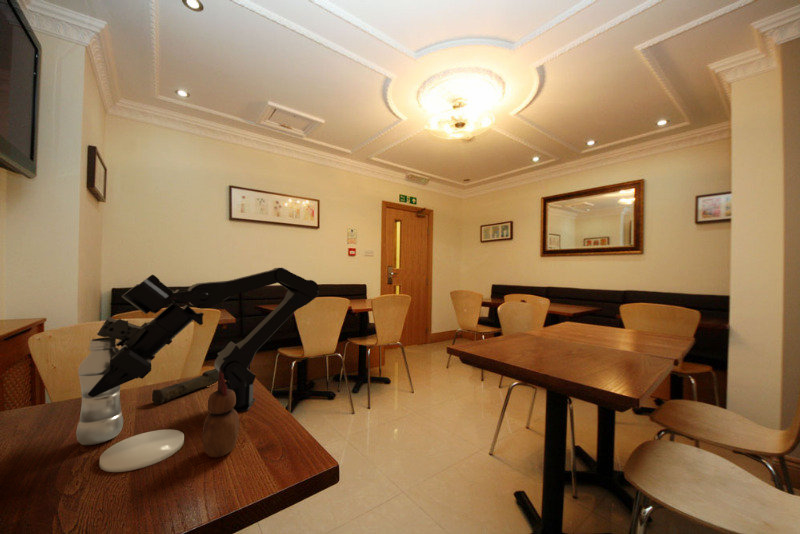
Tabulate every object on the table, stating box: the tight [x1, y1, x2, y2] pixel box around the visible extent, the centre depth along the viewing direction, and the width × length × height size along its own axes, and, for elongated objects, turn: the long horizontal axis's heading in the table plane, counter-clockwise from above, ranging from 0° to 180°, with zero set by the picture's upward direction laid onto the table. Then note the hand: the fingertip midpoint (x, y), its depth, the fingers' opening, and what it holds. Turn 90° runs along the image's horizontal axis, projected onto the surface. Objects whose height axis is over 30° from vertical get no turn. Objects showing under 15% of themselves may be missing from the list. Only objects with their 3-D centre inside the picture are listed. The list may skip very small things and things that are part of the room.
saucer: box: [99, 429, 185, 473], centre depth 57 cm, size 12×12×1 cm
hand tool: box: [151, 368, 219, 406], centre depth 85 cm, size 19×4×5 cm, turn 157°
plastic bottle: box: [75, 337, 124, 446], centre depth 60 cm, size 6×7×20 cm
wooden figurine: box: [202, 369, 240, 458], centre depth 57 cm, size 7×6×15 cm
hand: (91, 390), depth 59 cm, fingers closed on plastic bottle, 6 cm apart
